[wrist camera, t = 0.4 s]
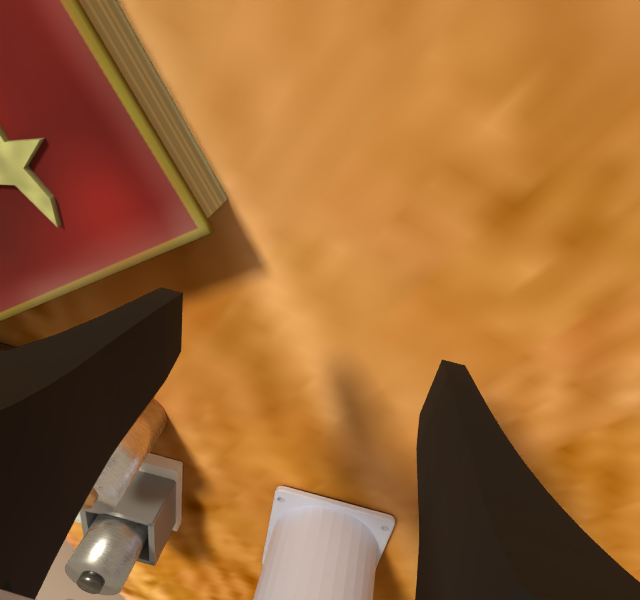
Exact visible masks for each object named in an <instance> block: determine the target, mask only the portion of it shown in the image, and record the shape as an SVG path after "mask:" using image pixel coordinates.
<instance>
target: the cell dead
mask: <svg viewBox="0 0 640 600" xmlns="http://www.w3.org/2000/svg"><path fill="white" fill-rule="evenodd" d="M147 539H148V525H144V524H141V523H137V522H134V521H130V520H127V519H123V518H120V517H116V516H113V515H109V514H105V513H104V514H98V515H97V517H96V519H95V520H94V522H93V523H92V525H91V526H90V528H89V530H88V531H87V533H86V534H85V536H84V537H83V539H82V541H81V542H80V544H79V545H78V547H77V548H76V550H75V552H74V553H73V555H72V556H71V558H70V559H69V561H68V562H67V564H66V566H65V571H66V573H67V575H68V576H69V578H70V579H71V580H72V581H73V582H75V583H76V584H77V585H78V587H79V588H81V589H82V590H84V591H86V592H88V593H92V594H101V595H115V594H118V593H119V592H120V591H121V589H122V587H123V585H124V584H125V582H126V580H127V578H128V576H129V574H130V572H131V570H132V568H133V566H134V564H135V562H136V560H137V558H138V556H139V555H140V553H141V551H142V549H143V547H144V545H145V543H146V541H147Z"/></svg>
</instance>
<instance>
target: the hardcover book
mask: <svg viewBox="0 0 640 600" xmlns="http://www.w3.org/2000/svg"><path fill="white" fill-rule="evenodd" d="M227 199H228V198H227V196H226V194H225V192H224V191H223V189H222V187H221V185H220V184H219V182H218V180H217V178H216V176H215V175H214V173H213V171H212V169H211V168H210V166H209V164H208V162H207V160H206V159H205V157H204V155H203V153H202V152H201V150H200V148H199V146H198V144H197V143H196V141H195V139H194V137H193V136H192V134H191V132H190V130H189V128H188V127H187V125H186V123H185V121H184V120H183V118H182V116H181V114H180V112H179V111H178V109H177V107H176V105H175V104H174V102H173V100H172V98H171V96H170V95H169V93H168V91H167V89H166V87H165V86H164V84H163V82H162V80H161V79H160V77H159V75H158V73H157V71H156V70H155V68H154V66H153V64H152V63H151V61H150V59H149V57H148V55H147V54H146V52H145V50H144V48H143V47H142V45H141V43H140V41H139V39H138V38H137V36H136V34H135V32H134V31H133V29H132V27H131V25H130V23H129V22H128V20H127V18H126V16H125V15H124V13H123V11H122V9H121V7H120V6H119V4H118V2H117V0H0V321H2V320H4V319H7V318H9V317H12V316H14V315H16V314H19V313H21V312H24V311H26V310H28V309H31V308H33V307H36V306H38V305H40V304H43V303H45V302H48V301H50V300H52V299H55V298H57V297H60V296H62V295H64V294H67V293H69V292H72V291H74V290H76V289H79V288H81V287H84V286H86V285H88V284H91V283H93V282H96V281H98V280H100V279H103V278H105V277H108V276H110V275H112V274H115V273H117V272H120V271H122V270H124V269H127V268H129V267H132V266H134V265H136V264H139V263H141V262H144V261H146V260H148V259H151V258H153V257H156V256H158V255H160V254H163V253H165V252H168V251H170V250H172V249H175V248H177V247H180V246H182V245H184V244H187V243H189V242H192V241H194V240H196V239H199V238H201V237H204V236H206V235H208V234H211V233H212V232H213V231H214V228H213V226H212V225H211V223H210V221H209V220H208V218H209V217H210V216H211V215H212V214H213V213H214V212H215V211H216V210H217V209H218V208H219V207H220V206H221V205H222V204H223V203H224V202H225V201H226V200H227Z"/></svg>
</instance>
